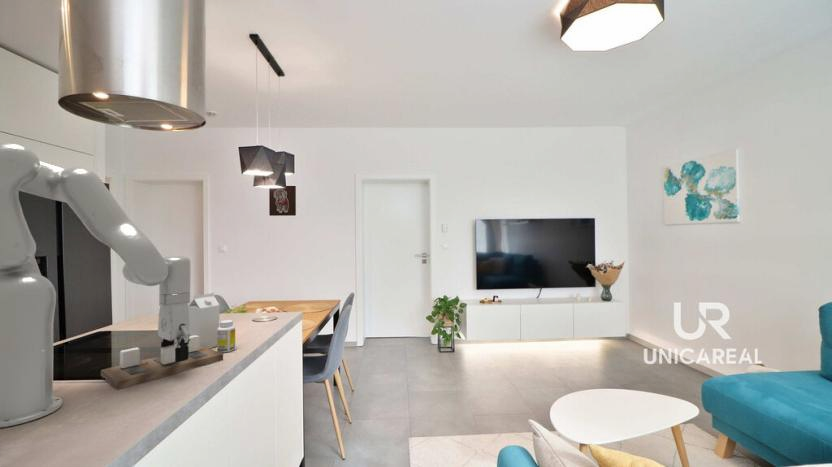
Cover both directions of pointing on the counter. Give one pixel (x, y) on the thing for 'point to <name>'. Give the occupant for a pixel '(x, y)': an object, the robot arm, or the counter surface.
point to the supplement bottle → (226, 336)
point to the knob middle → (168, 354)
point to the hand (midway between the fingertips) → (174, 357)
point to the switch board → (158, 368)
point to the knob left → (129, 357)
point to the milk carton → (204, 319)
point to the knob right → (193, 343)
